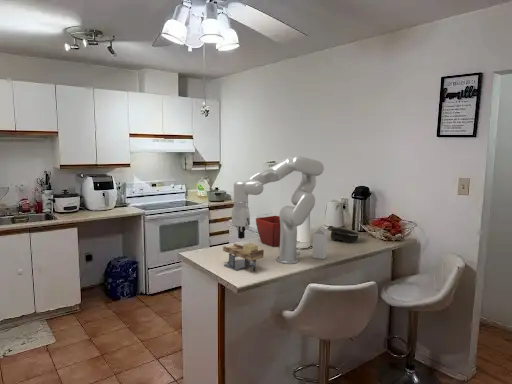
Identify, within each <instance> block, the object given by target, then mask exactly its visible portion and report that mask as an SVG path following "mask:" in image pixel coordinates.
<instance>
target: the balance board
mask: <svg viewBox="0 0 512 384" xmlns="http://www.w3.org/2000/svg"><path fill="white" fill-rule="evenodd" d="M222 251H223V252H225V253H228V254H232V255H236V256H239V258H242V259H244V260H245V259H247V260H250V262H253V260H256V261H257V260H260V259H262V258H264V255H265V253H264V249H258V251H255V252H251V253H250V254H247V253H244V252H243V245H240V244H237V243H234V244H233V245H231V246H226V245H224V246H223V247H222Z"/></svg>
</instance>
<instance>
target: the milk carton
mask: <svg viewBox="0 0 512 384" xmlns="http://www.w3.org/2000/svg"><path fill="white" fill-rule="evenodd" d="M312 235H313V236H312V251H311V252H312V255H311V257H312V258H314V259H320V260H325V259H326V257H327V247H328V246H327V245H328V231H327V228H325V227H323V224H321V225H320V226H319V228H318V229H316V230H315V231H314V232H313V233H312Z"/></svg>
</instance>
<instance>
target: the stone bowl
mask: <svg viewBox="0 0 512 384" xmlns="http://www.w3.org/2000/svg"><path fill="white" fill-rule="evenodd" d="M326 230H329V231H330V232H331V233H330V238H331V240H333V241H341V240H342V241H343V243H345V244H349V243H355V242H356V241H357V240H358V239H359V236H360V237H361V236H363V233H362V232H360V231H357V230H353V229H349V228H345V227H334V226H333V225H329V226H328V228H326Z"/></svg>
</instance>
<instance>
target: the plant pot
mask: <svg viewBox="0 0 512 384" xmlns="http://www.w3.org/2000/svg"><path fill="white" fill-rule="evenodd" d="M255 224H256V228H257V233H258V236H259V239H260V240H259V241H260V242H261V244H263V245H267V246H271V248H274V247H280V217H279V215H270V216H263V217H256V218H255Z"/></svg>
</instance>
